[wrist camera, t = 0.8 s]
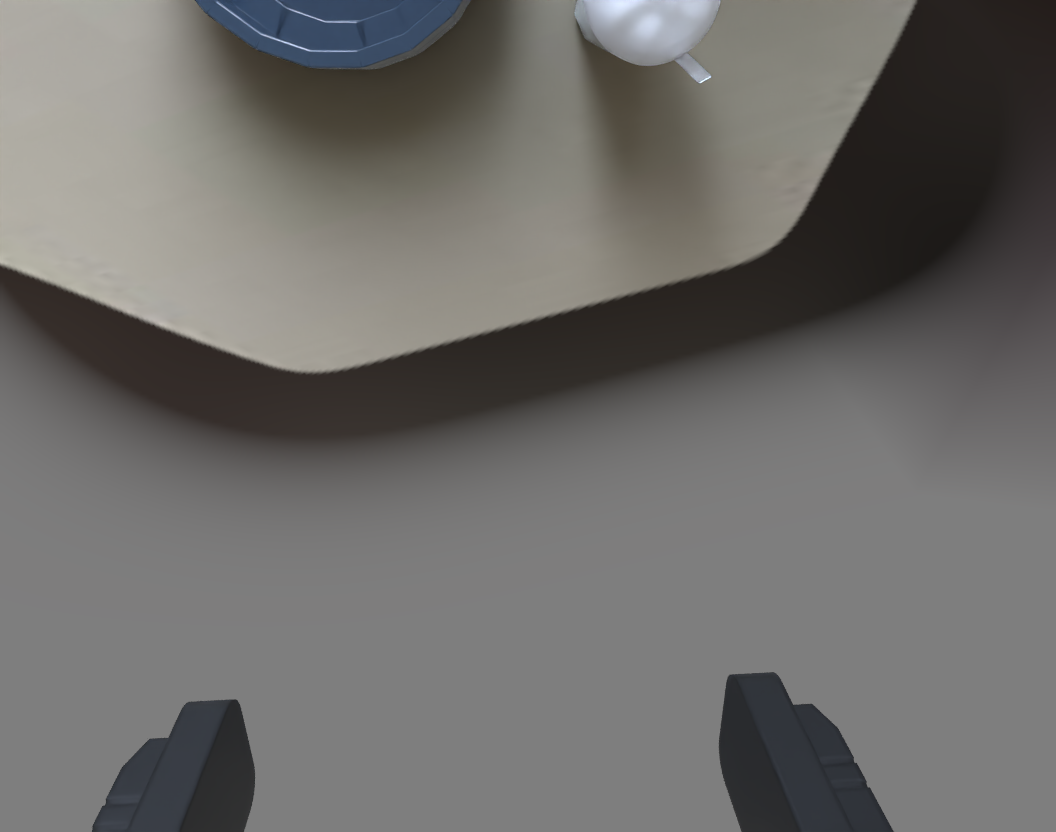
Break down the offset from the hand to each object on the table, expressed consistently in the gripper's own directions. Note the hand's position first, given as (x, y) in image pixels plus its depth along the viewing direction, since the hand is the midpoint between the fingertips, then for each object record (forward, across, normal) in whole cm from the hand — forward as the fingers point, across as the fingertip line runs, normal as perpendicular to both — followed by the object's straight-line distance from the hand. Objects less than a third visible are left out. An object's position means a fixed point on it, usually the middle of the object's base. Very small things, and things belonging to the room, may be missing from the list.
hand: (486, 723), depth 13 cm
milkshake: (+27, -6, -12) cm, 30 cm away
